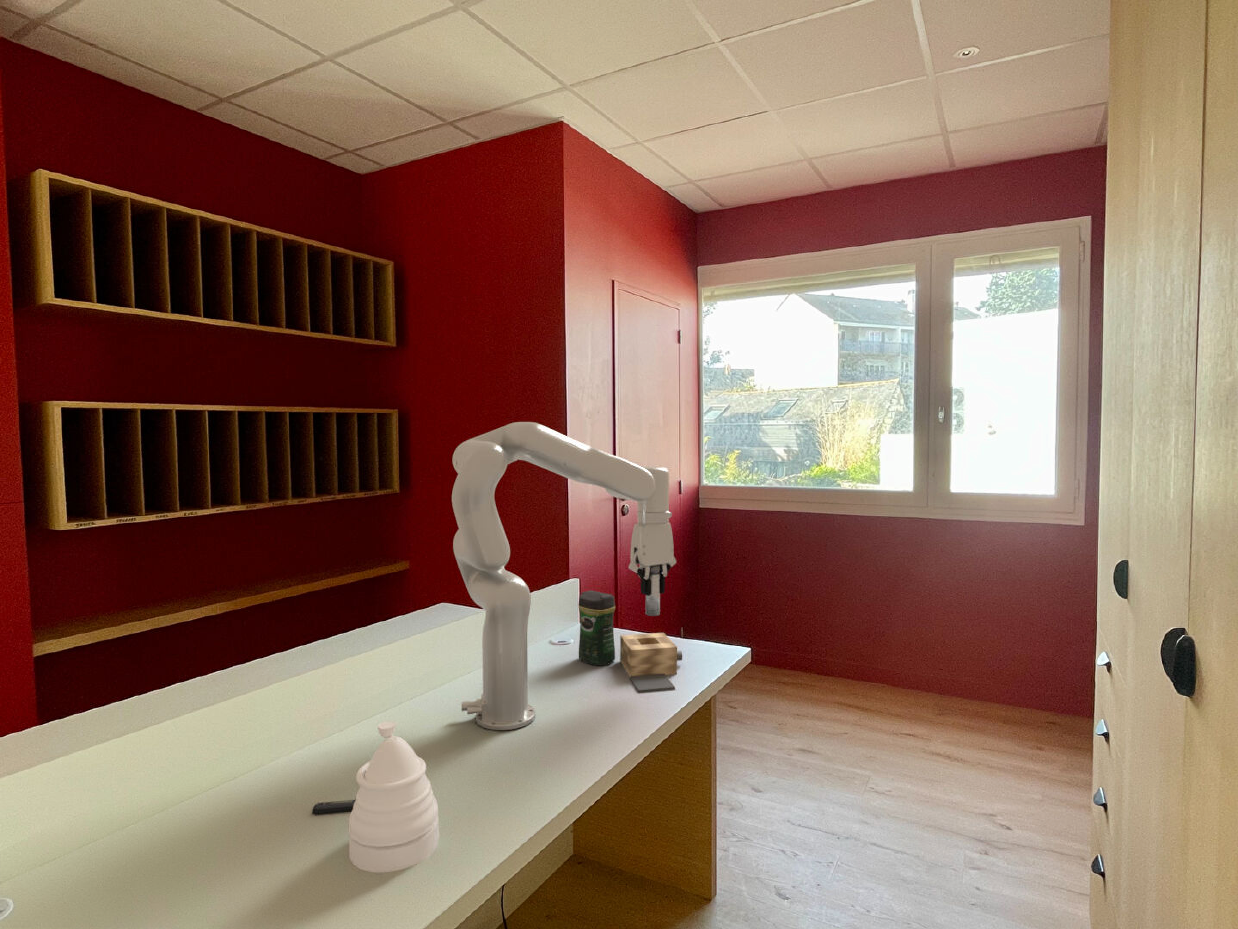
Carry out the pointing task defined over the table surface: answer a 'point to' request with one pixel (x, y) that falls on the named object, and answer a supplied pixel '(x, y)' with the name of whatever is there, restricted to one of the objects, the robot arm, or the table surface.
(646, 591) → the robot arm
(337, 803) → the usb stick
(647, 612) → the metal cylinder
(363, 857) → the honey pot
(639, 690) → the mat
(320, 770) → the table surface
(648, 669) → the block
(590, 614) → the coffee jar
